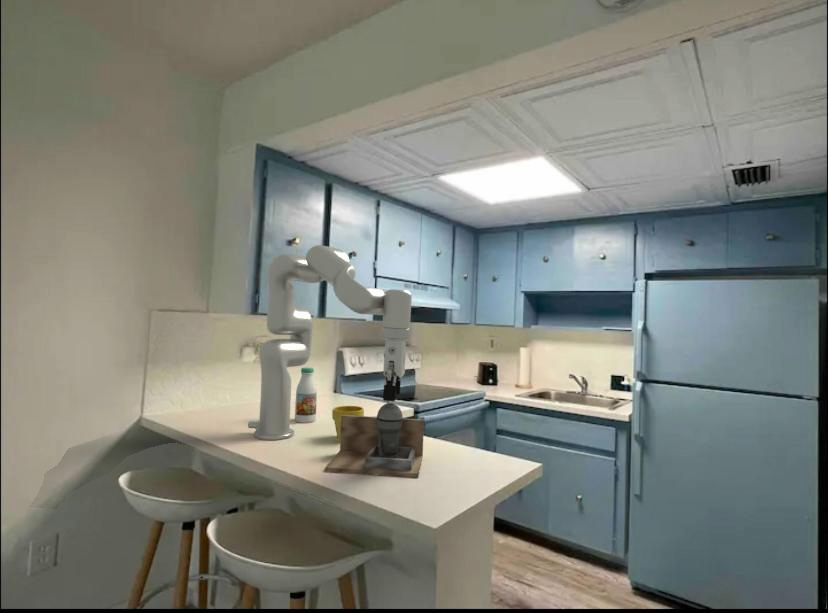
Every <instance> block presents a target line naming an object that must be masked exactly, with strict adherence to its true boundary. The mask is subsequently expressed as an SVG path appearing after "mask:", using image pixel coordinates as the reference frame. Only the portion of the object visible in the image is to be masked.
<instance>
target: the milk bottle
mask: <svg viewBox="0 0 828 613" xmlns="http://www.w3.org/2000/svg"><path fill="white" fill-rule="evenodd" d="M300 372H301V373H300V374H301V377H300V379H299V383H297V386H296V392H295V406H294V421H295V422H296V423H299V424H301V423H302V424H308V423H309V424H310V423H313V422H315V421H316V420H317V418H316V417H317V397H318V396H317V394H318V392H317V391H318V390H317V386H316V383H315V380H314V376H313V375H314V368H313V367H301V368H300Z"/></svg>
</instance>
